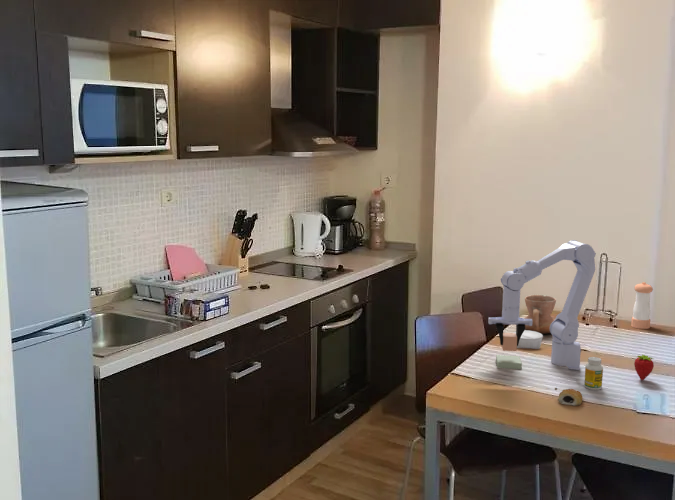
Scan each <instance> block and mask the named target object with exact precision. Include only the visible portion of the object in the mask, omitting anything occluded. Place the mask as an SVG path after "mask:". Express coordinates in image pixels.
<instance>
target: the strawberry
mask: <svg viewBox="0 0 675 500" xmlns="http://www.w3.org/2000/svg"><path fill="white" fill-rule="evenodd" d="M654 359H655V358H653V357H650V356H649V355H645V354H642V355H636V358H635V360H634V363H633V365H634V370H635V372H636V374H637V376H638V378H639V379H640V380H641V381H645V379H646V378H648V377H649V375H650V374H651V373H652V372H653V370H654V366H655V365H654V361H653V360H654Z"/></svg>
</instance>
